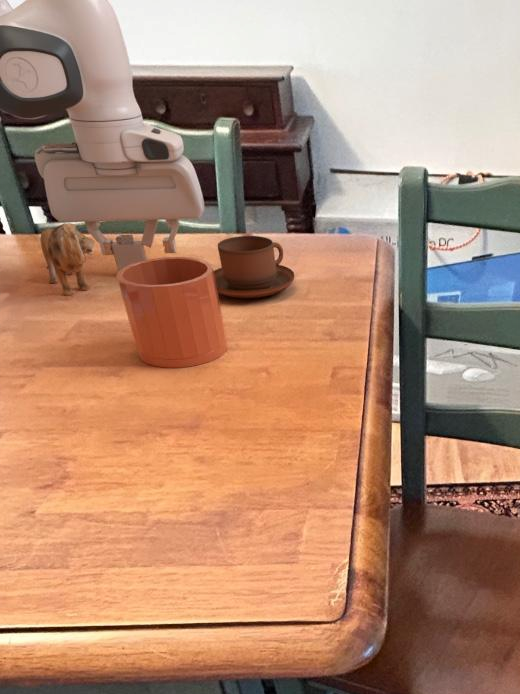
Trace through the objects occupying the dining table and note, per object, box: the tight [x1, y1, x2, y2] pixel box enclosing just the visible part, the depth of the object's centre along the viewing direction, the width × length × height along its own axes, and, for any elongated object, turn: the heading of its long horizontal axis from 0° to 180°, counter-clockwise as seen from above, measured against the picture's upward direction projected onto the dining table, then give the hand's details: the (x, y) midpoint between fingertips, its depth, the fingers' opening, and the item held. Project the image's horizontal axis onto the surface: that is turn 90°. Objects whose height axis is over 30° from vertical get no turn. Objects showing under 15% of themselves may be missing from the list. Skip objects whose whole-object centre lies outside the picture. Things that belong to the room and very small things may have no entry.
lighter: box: [111, 220, 159, 273], centre depth 105 cm, size 7×2×8 cm, turn 100°
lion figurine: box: [39, 222, 95, 296], centre depth 101 cm, size 15×5×9 cm, turn 45°
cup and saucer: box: [214, 235, 295, 299], centre depth 101 cm, size 12×12×6 cm
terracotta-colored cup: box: [116, 256, 228, 369], centre depth 85 cm, size 10×10×9 cm
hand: (140, 253), depth 106 cm, fingers open, 7 cm apart
